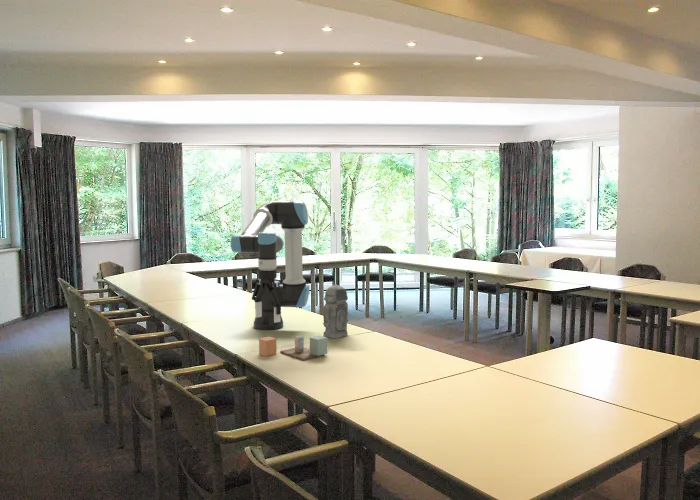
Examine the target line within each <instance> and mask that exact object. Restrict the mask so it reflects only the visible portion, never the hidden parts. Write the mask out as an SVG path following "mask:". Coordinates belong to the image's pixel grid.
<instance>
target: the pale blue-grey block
mask: <svg viewBox="0 0 700 500" xmlns="http://www.w3.org/2000/svg"><path fill="white" fill-rule="evenodd" d="M309 349H310V354H313V355H316V356H320V355H324V356H325V355H327V354H328V337H325V336H324V335H316V336H311V337H309Z"/></svg>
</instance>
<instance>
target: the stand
mask: <svg viewBox="0 0 700 500" xmlns="http://www.w3.org/2000/svg"><path fill="white" fill-rule="evenodd" d="M279 352H280V354H282V355H285V354H286V356H289V357H291V358H295V359H298V360H301V361H304V362H305V361H308V360H312V359H316V358H320V357H324V356H325V354H324V355H320V356H316V355H313V354H310V348H308V347H304V352H299V353H298V352H295V347H294V348H288V349H284V350H280V351H279Z"/></svg>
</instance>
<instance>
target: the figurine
mask: <svg viewBox="0 0 700 500" xmlns="http://www.w3.org/2000/svg"><path fill="white" fill-rule="evenodd" d="M347 292H348V291H347V290H346V288H344V286H340V285H338V284H336V283H335V284H333V285H331V286H329V287H327V289H326V290H325V294H324V298H323V300H324V301H325V305H323V309H322V312H323V323H322V324H323V327H324V328H325V331H324V332H323V335H322V336H323V337H327V338H330V339H339V338H344V337H348V335H349V334H348V331H347V330H348V322H349V317H348V312H349V311H348V310H349V307H348V306H349V305H348V303H347V302H348V299H349V297H348V293H347Z"/></svg>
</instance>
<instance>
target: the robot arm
mask: <svg viewBox="0 0 700 500" xmlns="http://www.w3.org/2000/svg"><path fill="white" fill-rule="evenodd" d="M308 222H309V214H308V208H307V205H306V203H305V202H304V201H301V200H272V201H269V202H266V203H264V204H262V205H261V206H259V207H258V208H257V209H256V210H255V211H254V212H253V217H252V219H251V220H250V222H249V223H248V225H247V226H246V227H245V228H244V230H243V231H242V233H240V234H237V235H232V236H231V238H230V249H231V251H232V252H233V253H239V254H243V253H244V254H247V253H249V254H250V253H251V254H252V253H256V254H258V255H257V257H258V259H257V260H258V262H257V263H258V264H257V265H258V271H257V275H258V276H257V277H258V279H255V286H254V288H253V293H252V296H251V300H252V301H253V302H254V308H255V317H254V319H253V320H254V321H253V328H254V329H257V330H264V331H265V330H266V331H267V330H278V329H281V328H283V327H284V320H283V317H282V308H296V309H297V308H304V307H306V306H307V304H308V301H309V295H310V285H309V284H307V281H306V279H305V278H304V277H303V276H304V275H303V234H302V233H303V230H304V229H305V226H306V225H308ZM271 225H280V227H281V229H282V231H284V239H283V238H282V237H281V236H279V235H277V233H276V232H273V231H265V230H266V228H267V227H269V226H271ZM283 248H284V259H285V261H284V262H285V263H284V265H285V267H284V268H285V279H283V281H282V283H281V282H280V281H279V280H276V279H277V275H278V274H277V270H276V269H277V267H278V266H277V263H278V262H277V253H279V252H280V251H282V250H283Z"/></svg>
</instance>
